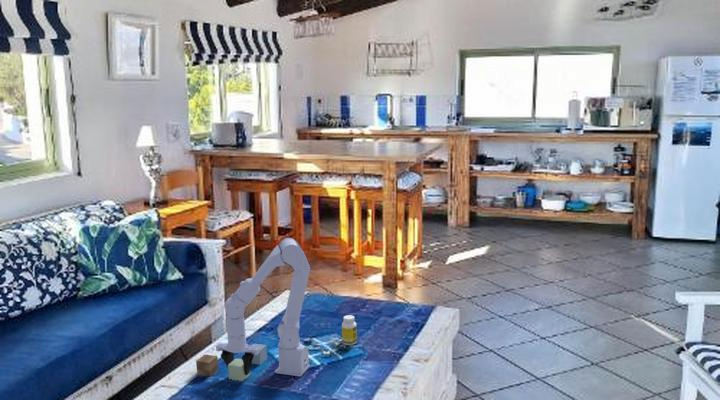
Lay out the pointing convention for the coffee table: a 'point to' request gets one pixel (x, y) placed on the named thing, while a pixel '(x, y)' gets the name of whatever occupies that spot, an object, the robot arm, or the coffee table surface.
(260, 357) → the slate block
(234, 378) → the sage block
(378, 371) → the coffee table surface
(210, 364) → the walnut block
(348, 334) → the supplement bottle
